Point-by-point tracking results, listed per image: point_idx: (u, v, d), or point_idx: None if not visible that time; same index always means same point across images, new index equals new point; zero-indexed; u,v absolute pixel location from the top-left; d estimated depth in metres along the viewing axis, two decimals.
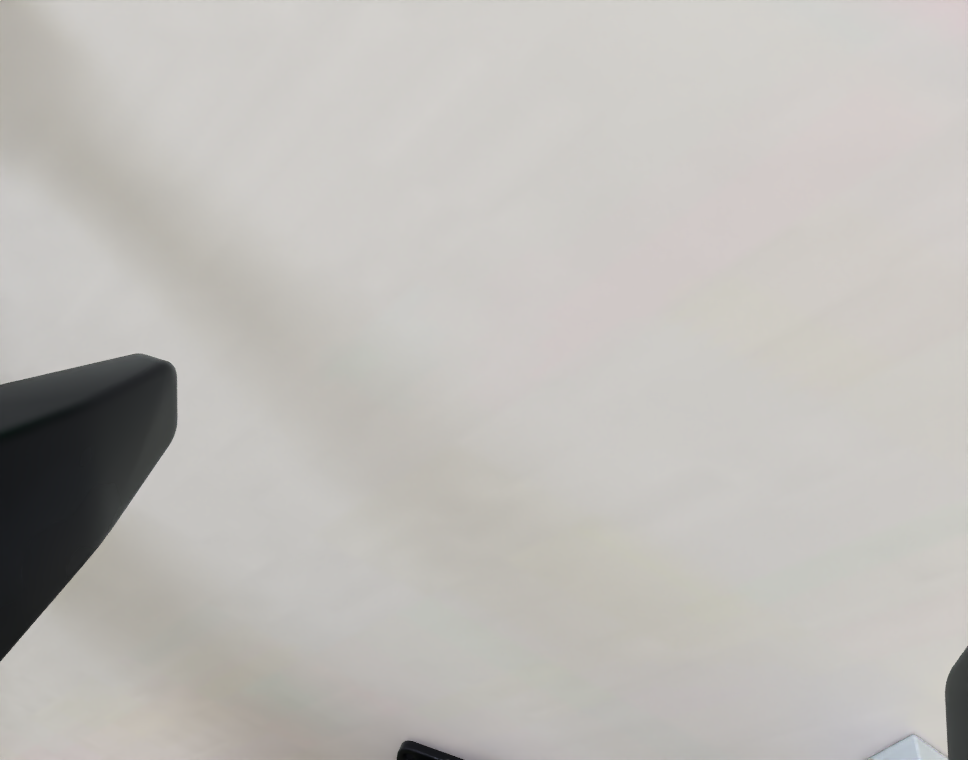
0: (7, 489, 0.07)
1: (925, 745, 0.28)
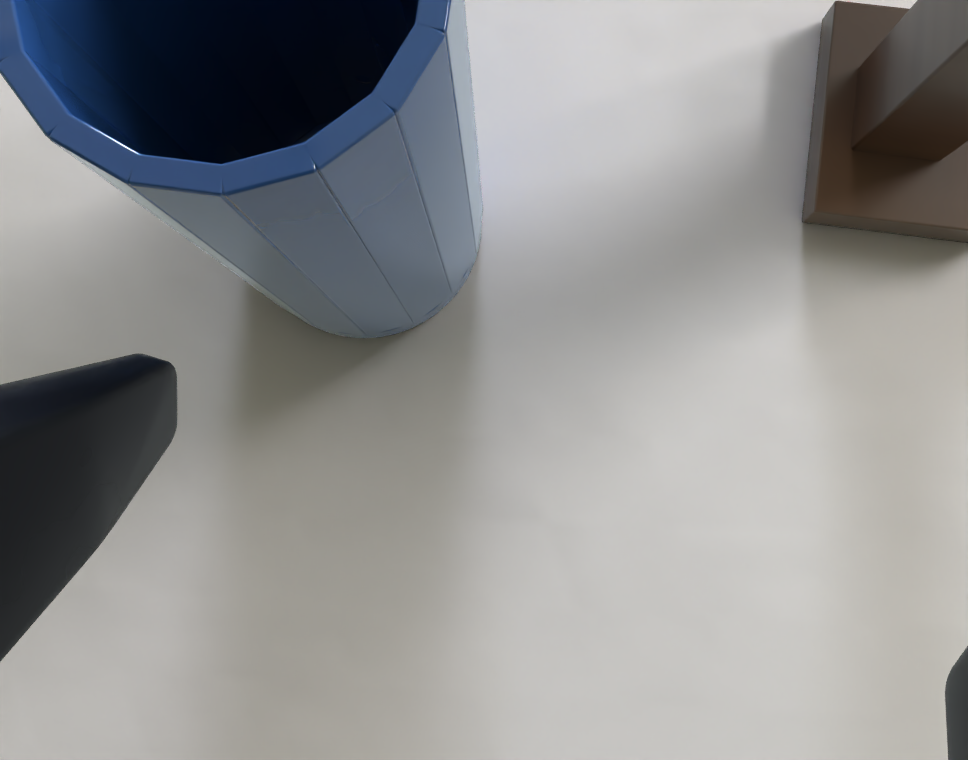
0: (7, 489, 0.07)
1: None
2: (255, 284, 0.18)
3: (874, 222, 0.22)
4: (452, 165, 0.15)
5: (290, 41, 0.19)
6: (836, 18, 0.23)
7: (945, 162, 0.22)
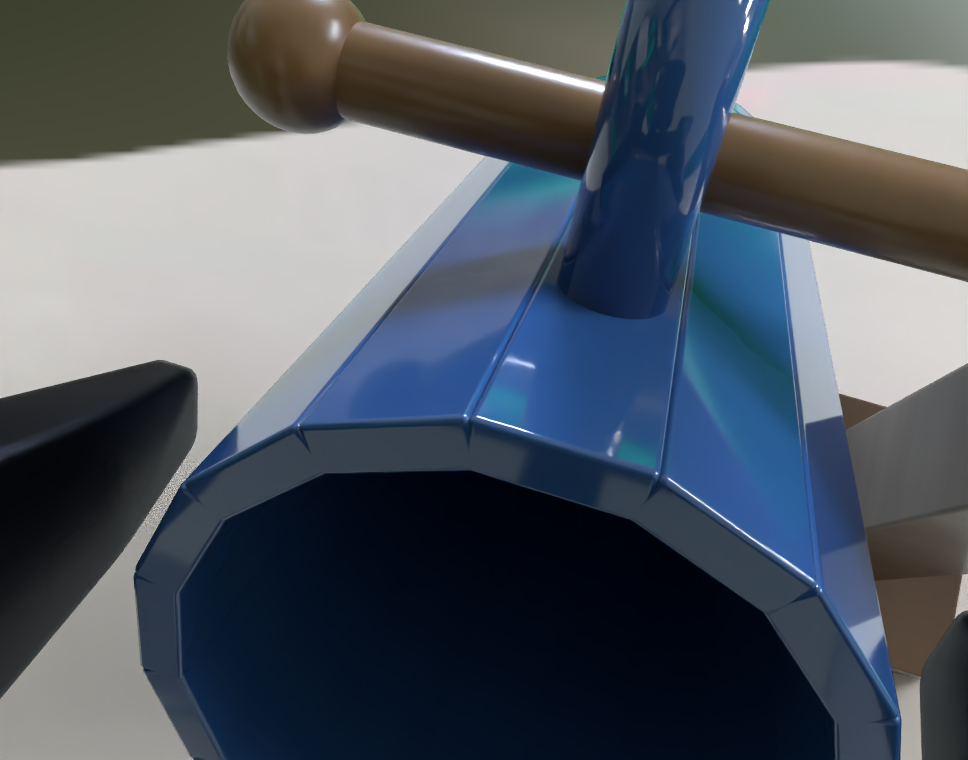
0: (33, 497, 0.07)
1: None
2: None
3: None
4: None
5: None
6: None
7: (883, 583, 0.20)
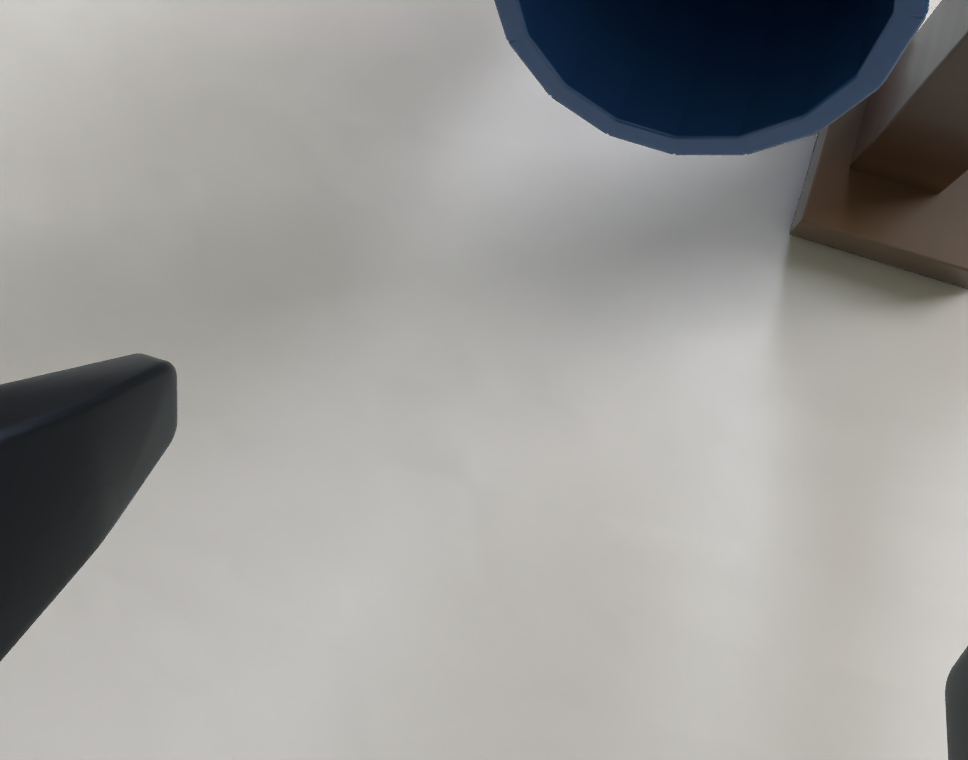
0: (7, 489, 0.07)
1: None
2: None
3: (862, 243, 0.22)
4: None
5: None
6: None
7: (944, 197, 0.22)
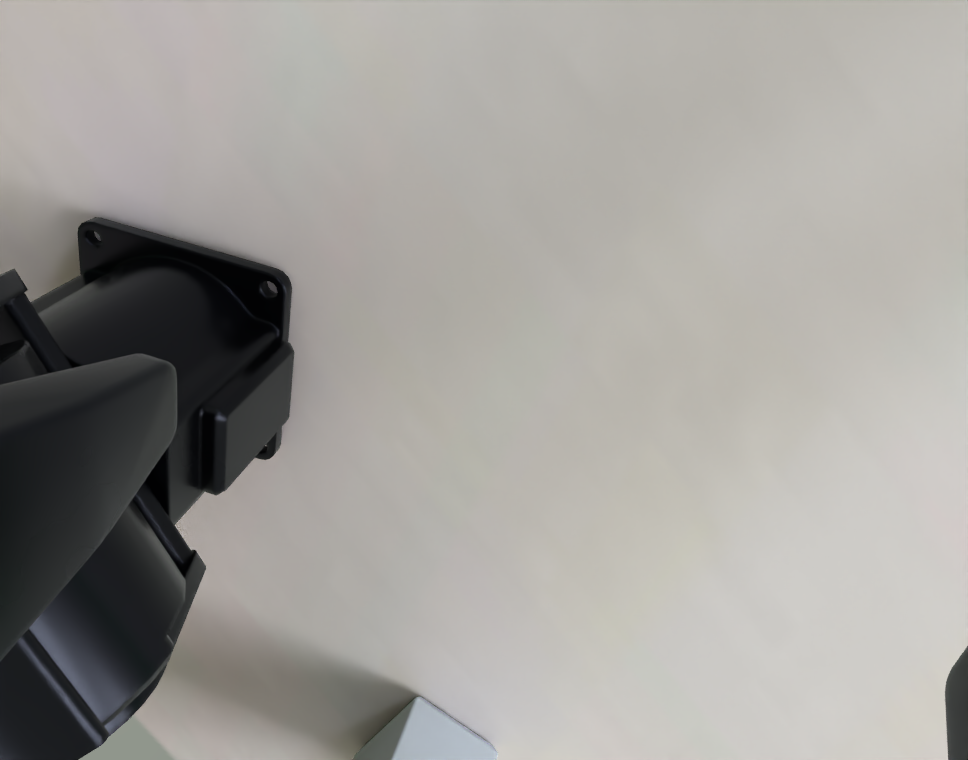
0: (7, 489, 0.07)
1: None
2: None
3: None
4: None
5: None
6: None
7: None
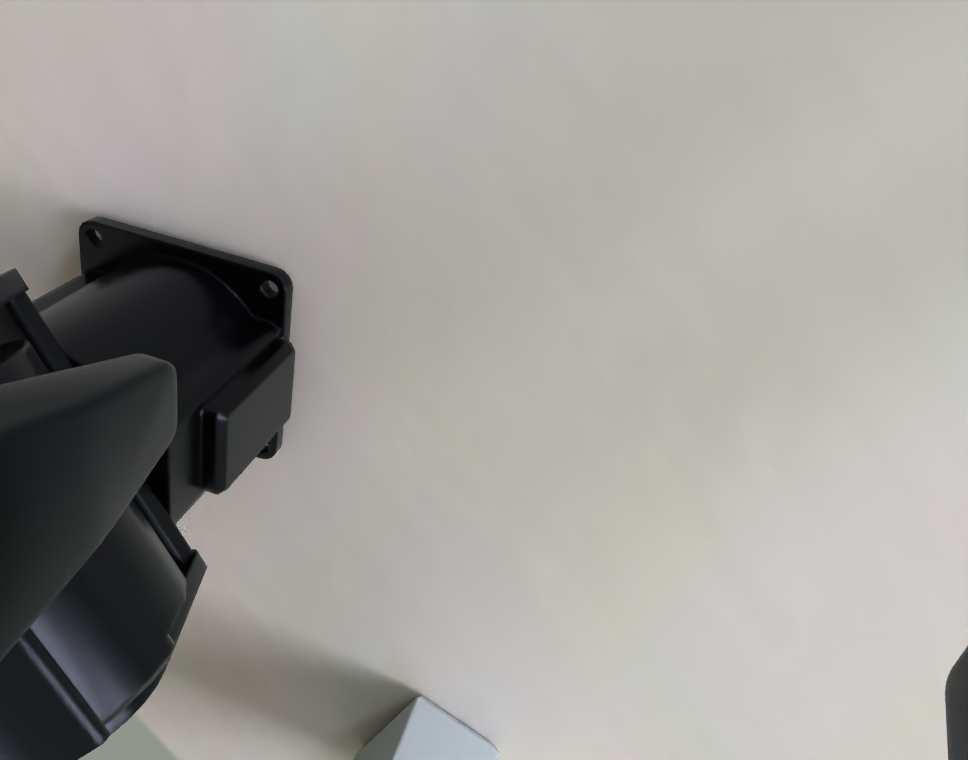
0: (7, 489, 0.07)
1: None
2: None
3: None
4: None
5: None
6: None
7: None
